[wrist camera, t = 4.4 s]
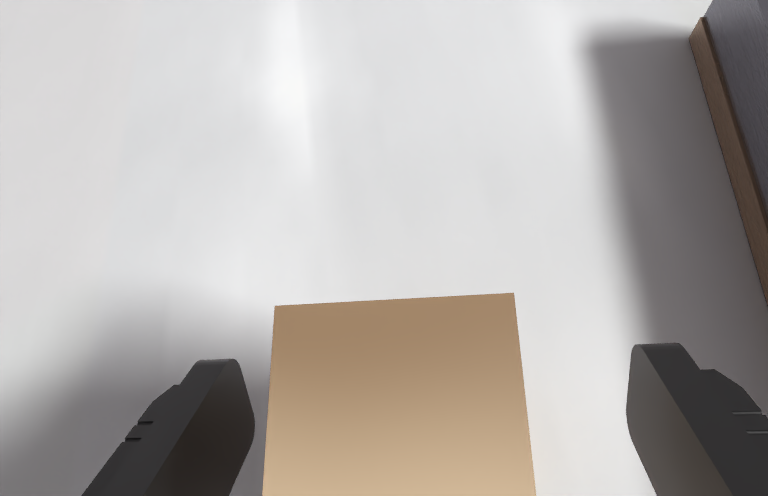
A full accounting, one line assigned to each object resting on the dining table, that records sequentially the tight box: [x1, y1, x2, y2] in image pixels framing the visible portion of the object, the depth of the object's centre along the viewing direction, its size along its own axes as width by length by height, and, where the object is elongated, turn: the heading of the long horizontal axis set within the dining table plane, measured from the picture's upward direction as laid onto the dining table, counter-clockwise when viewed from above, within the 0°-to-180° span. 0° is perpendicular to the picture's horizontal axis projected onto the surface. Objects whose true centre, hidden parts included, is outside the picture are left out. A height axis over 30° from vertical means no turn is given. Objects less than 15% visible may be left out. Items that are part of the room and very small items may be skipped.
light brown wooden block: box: [262, 293, 536, 496], centre depth 10 cm, size 4×3×10 cm
